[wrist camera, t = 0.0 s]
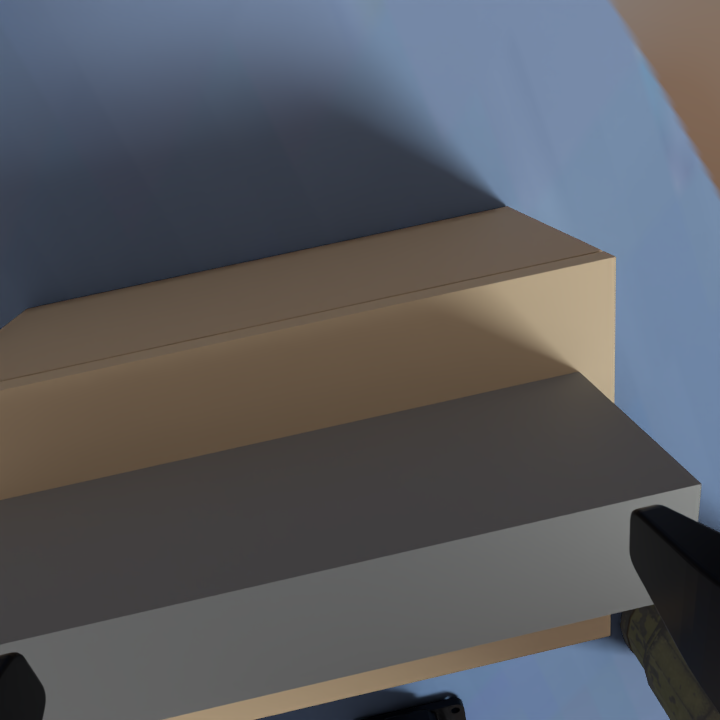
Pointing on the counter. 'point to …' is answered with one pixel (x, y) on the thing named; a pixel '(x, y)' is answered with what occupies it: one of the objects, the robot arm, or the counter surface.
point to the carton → (287, 301)
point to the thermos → (665, 666)
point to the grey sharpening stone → (323, 495)
